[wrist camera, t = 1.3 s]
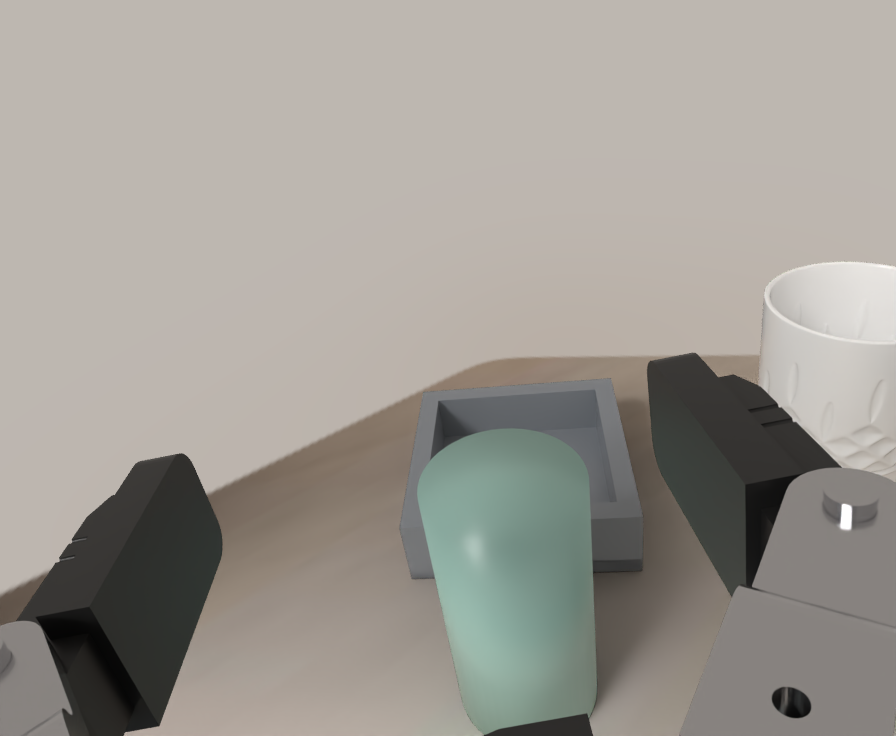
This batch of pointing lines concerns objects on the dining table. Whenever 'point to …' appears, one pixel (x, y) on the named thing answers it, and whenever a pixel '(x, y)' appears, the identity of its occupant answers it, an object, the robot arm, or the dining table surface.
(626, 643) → the dining table surface
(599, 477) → the dish
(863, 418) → the white cup
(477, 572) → the mint green cylinder
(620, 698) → the dining table surface
